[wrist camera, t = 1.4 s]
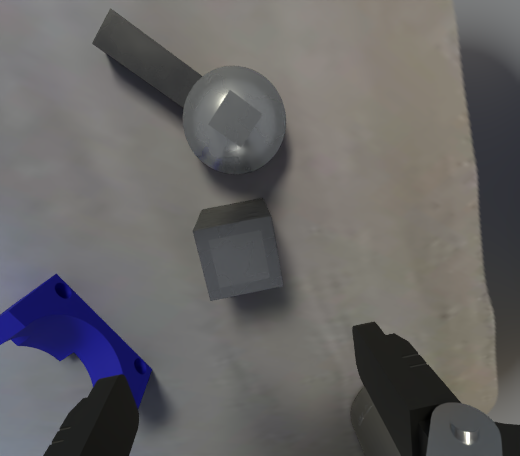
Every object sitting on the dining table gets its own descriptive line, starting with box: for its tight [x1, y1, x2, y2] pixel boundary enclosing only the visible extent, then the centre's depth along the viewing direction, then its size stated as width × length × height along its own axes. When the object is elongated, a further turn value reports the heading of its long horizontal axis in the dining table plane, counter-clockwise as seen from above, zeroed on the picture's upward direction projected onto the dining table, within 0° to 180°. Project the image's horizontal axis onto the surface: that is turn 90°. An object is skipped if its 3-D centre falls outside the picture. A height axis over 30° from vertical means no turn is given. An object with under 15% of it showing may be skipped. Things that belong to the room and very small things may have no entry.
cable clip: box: [0, 274, 152, 408], centre depth 25 cm, size 12×4×6 cm, turn 35°
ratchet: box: [92, 8, 286, 174], centre depth 20 cm, size 14×7×6 cm, turn 55°
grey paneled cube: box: [193, 198, 283, 301], centre depth 23 cm, size 5×5×6 cm
